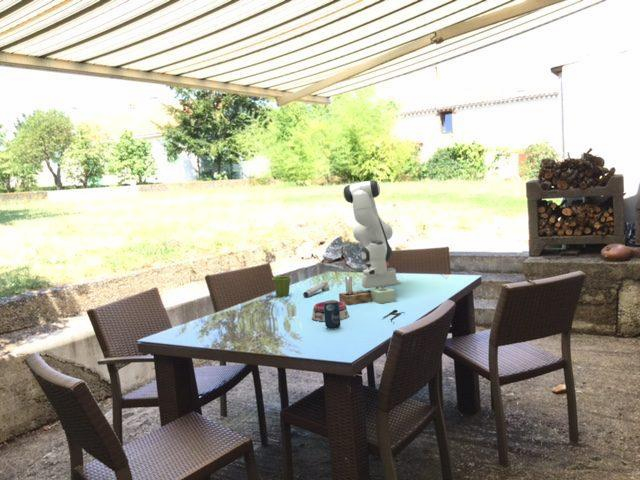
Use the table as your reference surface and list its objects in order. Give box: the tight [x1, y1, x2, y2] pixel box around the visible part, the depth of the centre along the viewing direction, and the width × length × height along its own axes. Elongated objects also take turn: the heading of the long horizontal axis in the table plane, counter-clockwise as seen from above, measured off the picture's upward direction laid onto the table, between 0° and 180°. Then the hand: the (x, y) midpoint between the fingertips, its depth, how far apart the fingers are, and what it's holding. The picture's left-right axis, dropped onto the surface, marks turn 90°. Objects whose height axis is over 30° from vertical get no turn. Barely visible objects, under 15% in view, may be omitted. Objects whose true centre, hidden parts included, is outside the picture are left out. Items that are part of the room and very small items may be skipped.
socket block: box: [338, 289, 372, 306], centre depth 293 cm, size 14×12×4 cm
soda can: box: [324, 299, 341, 330], centre depth 240 cm, size 7×7×12 cm
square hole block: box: [370, 287, 397, 305], centre depth 288 cm, size 10×10×6 cm
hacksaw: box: [382, 309, 406, 324], centre depth 250 cm, size 24×10×2 cm, turn 147°
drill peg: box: [344, 276, 354, 296], centre depth 291 cm, size 4×4×14 cm
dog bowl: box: [311, 300, 350, 323], centre depth 260 cm, size 18×19×7 cm
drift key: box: [357, 288, 375, 294], centre depth 295 cm, size 12×2×5 cm, turn 109°
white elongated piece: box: [302, 280, 330, 299], centre depth 325 cm, size 5×7×25 cm
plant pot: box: [271, 275, 292, 298], centre depth 326 cm, size 12×12×11 cm
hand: (380, 293), depth 297 cm, fingers closed
